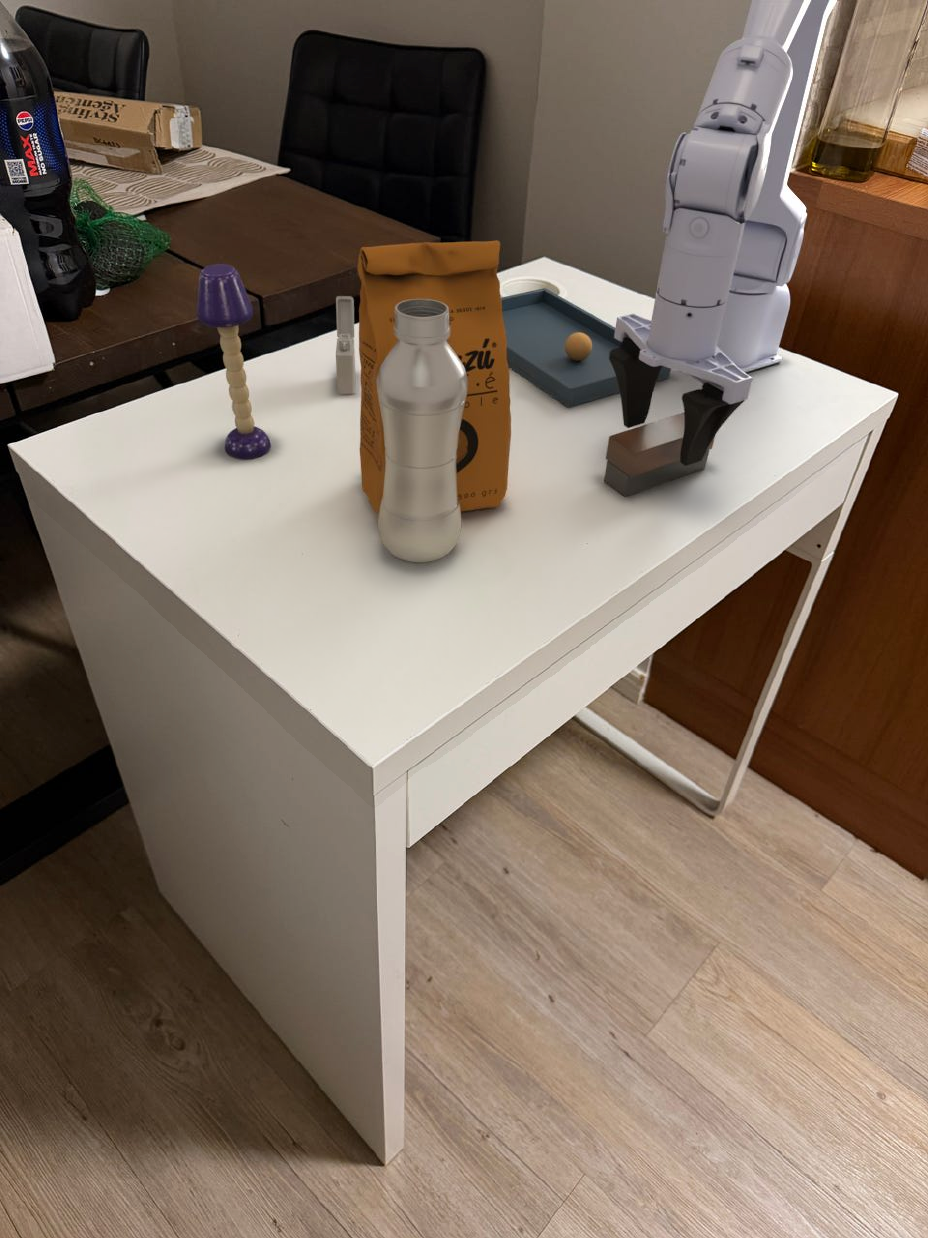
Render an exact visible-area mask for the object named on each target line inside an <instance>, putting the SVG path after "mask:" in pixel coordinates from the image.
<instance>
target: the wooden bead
mask: <svg viewBox="0 0 928 1238" xmlns="http://www.w3.org/2000/svg"><path fill="white" fill-rule="evenodd" d="M591 350H592V342H591V340H590V338H589V337H588V336H587V335H586V334H584V333H574V334H572V335H570V336H569V337H568V339H567V340H566V343H565V352H566V354H567V356H568V357H569V358H571V359H572V360H575V361H581V360H584V359H586V358H587V357H588V356H589V355H590V353H591Z"/></svg>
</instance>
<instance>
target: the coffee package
mask: <svg viewBox="0 0 928 1238" xmlns="http://www.w3.org/2000/svg"><path fill="white" fill-rule="evenodd" d="M500 251H501V242H500V241H499V240H489V241H488V240H487V241H486V240H485V241H477V240H476V241H455V242H427V241H424V242H410V243H399V244H385V245H377V246H376V245H375V246H362V247H361V248H360V249H359V254H358V263H357V266H356V267H357V268H356V269H357V274H358V277H359V279H360V282H361V285H360V290H359V298H360V302H359V307H358V315H359V318H358V319H359V320H358V355H359V363H360V389H361V390H360V391H361V392H360V417H359V418H360V419H359V420H360V421H359V435H360V436H359V437H360V439H359V442H360V443H359V459H360V461H359V462H360V473H361V475H360V476H361V488H362V491H363V493H364V495H365V496H366V498H367V500H368V502H369V504H370V507H372V509H373V510H374V511H375V512H376V514H377V516H379V511H380V505H381V501H382V497H383V490H384V478H385V466H386V459H385V444H384V429H383V422H382V416H381V410H380V404H379V398H378V393H377V382H376V380H377V376H378V373H379V369H380V366H381V364H382V363H383V361H384V359H385V358H386V356H387V355H388V353H389V352H390V350H391V349H392V348H393V347H394V345H395V344H396V343H397V341H398V338H396V337H395V335H394V325H395V306H396V305H397V304H398V303H400V302H402V301H405V300H410V299H431V300H436V301H440V302H442V303H444V304H446V305H447V306H448V308H449V325H450V337H449V338H448V339H446V340H447V343H448V344H449V345H450V347H451V348H452V349H453V350H454V352H455V353H456V354H457V356H458V358H459V359H460V361H461V362H462V364H463V366H464V368H465V371H466V375H467V379H468V388H467V396H466V401H465V405H464V410H463V415H462V420H461V425H460V430H459V440H458V448H457V459H456V471H457V492H458V499H459V504H460V509H461V512H467V511H474V510H481V509H488V508H489V509H490V508H491V509H492V508H493V509H494V508H498V507H500V505H501V503H502V501H503V500H504V499H505V497H506V495H507V491H508V481H509V480H508V479H509V465H510V464H509V463H510V450H511V440H512V413H511V397H510V396H511V395H510V394H511V393H510V389H511V388H510V380H511V372H510V368H509V367H508V363H507V358H506V348H507V339H506V330H505V327H504V321H503V315H502V301H501V298H502V296H501V291H500V290H501V282H500V281H501V280H499V277H498V273H497V272H498V267H499V264H500Z"/></svg>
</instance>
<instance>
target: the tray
mask: <svg viewBox="0 0 928 1238" xmlns="http://www.w3.org/2000/svg"><path fill="white" fill-rule="evenodd" d="M501 301H502V315H503V321H504V327H505V330H506V339H507V348H506V358H507V363H508V367H509V369H510V370H512V371H514V372H515V373H517V374H518V375H520V376H521V377H522V378H524V379H526V381H528V382H529V383H531V384H533V385H534V386H535V387H537V388H539V389H540V390H542V391H543V392H545V393H546V394H547V395H549V396H551V397H552V398H553V399H555V400H556V401H558V402H559V403H561V404H562V405H563V406H565V407H567V408H571V407H574V406H578V405H581V404H585V403H588V402H591V401H594V400H598V399H602V398H605V397H609V396H613V395H615V394H620V389H619V385H618V381H617V377H616V374H615V371H614V369H613V366H612V364H611V362H610V360H609V354H610V351H611V350H613V349H616V348H620V345H621V344H622V343H623V342H621V341H619V340H617V339H615V338H614V334H615V328H616V326H613V325H611V324H610V323H608V322H606V321H604V320H603V319H601V318H599V317H597V316H596V315H594V314H592V313H590V312H589V311H587V310H585V309H584V308H581V306H578V305H576V304H574V303H573V302H571V301H569V300H568V299H565V298H564V297H562V296H560V295H558V294H556V293H555V292H553V291H551V290H550V289H548V288H546V287H543V288H539V289H534V290H529V291H526V292H520V293H516V294H512V295H507V296H501ZM574 333H584V334H586V335H587V336H588V337H589V338H590V340H591V342H592V350H591V353H590V355H589V356H588V357H587V358H586V359H584V360H581V361H575V360H572V359H571V358H569V357H568V356H567V354H566V352H565V343H566V340H567V339H568V337H569V336H570V335H572V334H574ZM671 372H672V369H670V368H667V367H664V366H662V368H661V371H660V373H659V376H658V378H657V381H656V383H657V382H660V381H663V380H667V379H670V376H671Z"/></svg>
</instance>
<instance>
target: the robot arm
mask: <svg viewBox="0 0 928 1238" xmlns="http://www.w3.org/2000/svg"><path fill="white" fill-rule="evenodd" d="M837 1H838V0H751V3H750V7H749V11H748V14H747V18H746V21H745V25H744V28H743V32H742V36H741V39H737V40H735V41H733V42H731V43H730V44H729V45H728V46H727V47H725V48H724V49H723V50H722V52H721V53H720V55H719V56H718V60H717V63H716V65H715V68H714V71H713V73H712V76H711V79H710V82H709V83H708V86H707V89H706V92H705V94H704V98H703V100H702V103H701V105H700V108H699V110H698V113H697V116H696V118H695V121H694V124H693V127H692V128H691V130H690V132H689V133H686V132H684V131H683V132H682V133H680V135H679V136H678V138H677V140H676V143H675V145H674V148H673V150H672V152H671V153H672V154H671V158H670V160H669V165H668V169H667V174H666V181H665V182H666V184H665V194H664V197H665V198H664V200H665V201H664V202H665V203H664V204H665V206H664V207H665V210H664V217H663V223H662V233H663V234H665V235H666V236H665V241H664V247H663V252H662V257H661V263H660V269H659V274H658V280H657V286H656V291H655V297H654V303H653V309H652V314H651V320H650V319H648V318H644V317H642V316H639V315H637V314H636V313H630V314H624V315H622V316H618V317H616V322H615V334H614V338H615V339H617V340H619V341H621V342H623V343H622V344H621V345H620V348H616V349H613V350H611V351H610V354H609V360H610V362H611V364H612V366H613V369H614V371H615V374H616V377H617V381H618V385H619V389H620V392H619V394H620V403H621V412H622V422H623V426H624V427H625V428H627V429H631V428H634V427H636V426H641V425H644V424H646V420H647V418H648V415H649V412H650V407H651V404H652V403H651V402H652V399H653V395H654V390H655V386H656V385H657V384H656V383H657V382H658V381H657V378H658V376H659V373H660V371H661V368H662V366H664V367H667V368H670V369H671V370H674V371H676V372H677V371H678V372H680V373H682V374H684V375H686V376H688V377H690V378H692V379H694V380H695V381H697V382H699V383H700V384H702V386H701V388H697V389H694V390H690V391H686V392H684V393H682V396H681V401H682V406H683V413H684V418H685V424H684V435H683V441H682V446H681V452H680V463H682V464H683V465H685V466H688V465H691V464H694V463H696V462H699V461H702V459H703V457H704V455H705V453H706V451H707V449H708V447H709V445H710V443H711V442H712V440H713V438H714V437H715V438H716V435H717V434H718V432H719V431H720V429H721V427H723V425H724V424H725V422H727V420H728V419H729V417H731V415H732V414H733V413H735V411H736V410H737V409H738V408H739V407H740V406H741V405H742V404H743V403H745V401H746V400H748V398H749V395H750V391H751V387H752V383H753V379H754V378H753V376H751V375H749V374H748V372H751V371H754V370H757V369H761V368H765V367H767V366H771V365H774V364H777V363H780V362H782V360H783V356H781V355H779V354H778V351H779V347H780V344H781V340H782V337H783V333H784V329H785V326H786V322H787V318H788V315H789V311H790V306H791V294H790V290H789V287H788V283H789V282H790V281H791V279H792V276H793V275H794V271H795V267H796V264H797V261H798V258H799V255H800V251H801V247H802V243H803V239H804V235H805V230H804V229H805V225H806V221H807V218H808V217H807V216H808V213H807V212H806V211H807V207H806V205H805V204H804V203H803V202H802V201H801V200H800V199H799V198H798V197H797V195H795V193H794V192H793V191H792V190H791V189H790V188H789V186H788V179H789V176H790V172H791V167H792V162H793V158H794V155H795V151H796V146H797V142H798V138H799V134H800V130H801V126H802V123H803V117H804V114H805V109H806V105H807V102H808V101H807V100H808V98H809V93H810V89H811V85H812V81H813V76H814V73H815V68H816V64H817V60H818V56H819V52H820V48H821V44H822V39H823V35H824V32H825V27H826V23H827V20H828V19H829V15H830V14H831V12H832V11H833V8H834V6H835V5H836V2H837ZM656 381H657V382H656Z"/></svg>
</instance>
